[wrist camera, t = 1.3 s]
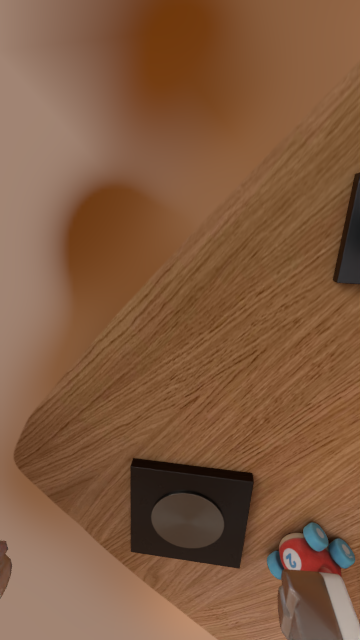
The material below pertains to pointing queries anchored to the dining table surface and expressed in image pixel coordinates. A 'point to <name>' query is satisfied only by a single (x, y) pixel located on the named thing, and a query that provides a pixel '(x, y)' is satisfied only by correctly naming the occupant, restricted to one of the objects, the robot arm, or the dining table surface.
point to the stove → (189, 512)
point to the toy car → (310, 553)
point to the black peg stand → (350, 241)
